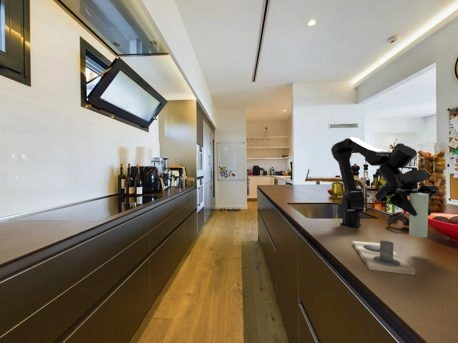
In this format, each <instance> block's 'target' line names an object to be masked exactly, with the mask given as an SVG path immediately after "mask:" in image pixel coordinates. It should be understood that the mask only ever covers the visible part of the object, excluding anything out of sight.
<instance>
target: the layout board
mask: <svg viewBox="0 0 458 343" xmlns="http://www.w3.org/2000/svg"><path fill="white" fill-rule="evenodd" d="M351 243H352V245H353V247H354V250H356V252H357V253H358V255H359V256H360V258H361V259H362V261H364V263H365V264H366V266H367V267H368V269H369V270H371V271H378V272H390V273H395V274H397V273H398V274H404V275H405V274H406V275H414V276H415V275H416V269H415V268H413V266H411V265H410V264H409V263H408V262H407V261H406V260H404V259H403V257H401V256H400V255H399V254H398V253H397V252H395V251H394V243H393V242H392V241H389V240H380V241H379V242H372V241H371V242H370V241H369V242H368V241H360V240H359V241H358V240H352V242H351Z"/></svg>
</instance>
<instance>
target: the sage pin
mask: <svg viewBox="0 0 458 343" xmlns="http://www.w3.org/2000/svg"><path fill="white" fill-rule="evenodd" d="M428 195H429V194H423V193H410V196H409V202H410V203H411V205H412V206H413V208H414V209H415V211H416V213H417V215H416V216H413V215H411V214H409V215H410V219H409V226H408V227H409V228H408V233H409V236H412V237H417V238H428V228H429V227H428V223H429V222H428V221H429V219H428V218H429V216H428V204H429V200H428Z"/></svg>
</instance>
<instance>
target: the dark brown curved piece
mask: <svg viewBox="0 0 458 343" xmlns="http://www.w3.org/2000/svg"><path fill="white" fill-rule="evenodd" d="M409 219H410V214H409V213H408V212H406V213H405V212H403V211H397V212H394V213H392V214H390V215H388V216H387V217H386V218H385V220H386V221H387V222H386V225H388V227H391V225H393V224H394V225H398V224H399V223H398V221H400V222H402V223H403V226H406V227H409Z"/></svg>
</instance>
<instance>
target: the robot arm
mask: <svg viewBox="0 0 458 343" xmlns="http://www.w3.org/2000/svg"><path fill="white" fill-rule="evenodd" d="M330 151H331V154H332V157H333V158H334V160H335V161H336V162H337V163H338V167H339V172H340V176H341V182H342V184H343V187H344V188H343V189H344V192H343V194H342V201H341V202H340V204H339V205H338V211H340V212H342V213H341V215H342V216H341V217H342V218H341V219H342V220H341V221H342V222H340V223H339V224H340V225H342V226H346V227H350V228H356V227H357V228H358V227H360V226H362V224H361V216H360V213H363V212H364V209H365V206H366V199H365V195H364V192H363V191H362V190H361V191H359V190H358V188H357V185H356V180H355V175H354V173H353V168H352V165H351V161H350V160H351V158H352V154H353V152H354V151H355V152H357V153H358V154H360V155H361V156H362V157H364V160H365V162H366V163H368V164H369V166H371V167H378V168H376V171H375V173H374V176H375V177H382V178H383V180H384V182H386V183H385V184H384V185H382V186H381V187H380V189H378V191H377V192H375V195H374V198H375V199H376V200H377V202H378V203H386V202H387V204H392V205H393V206H395V207H397V208H399V209H401V210H403V211H404V212H406V213H407V214H409V215H410V214H411V215H413V216H416V215H417V213H416V211H415V209H414V208H413V206H412V205H411V203H410V199H408V197H410V193H423V194H429V195H428V201H429V200H430V199H431V198H433V197H434V196H435V195H437V194H438V193H439V192H440V189H439V188H438V187H437V186H436V185H433V184H432V185H431V184H424V185H421V186H420V187H419V188H418V189H417V187H418V186H419V183H420V182H423V181H427V180H428V179H429V178H430V177H431V176H430V173H429V171H427V170H426V169H425V168H420V169H410V170H409V171H406V172H404V173H403V171H401V169H405V168H406V167H407V166H408V165H409V164H410V163H411V162H412V161H413V159H415V158H416V156H417V155H418V151H416V149H414V148H412V147H410V146H409V145H405V143H402V142H401V143H396V145H395V146H394V148H393V149H392V151H389V150H385V149H380V148H375V147H373V146H372V145H369V144H367V143H365V142H364V141H362V140H361V139H359V138H358V137H347V138H345V139H344V140H342V141H338V142H336V143H334V144H333V145H332V146H331V148H330ZM387 197H389V199H390V200H388V198H387ZM387 200H388V201H387ZM430 215H432V211H431V208H430V205H429V203H428V217H429V216H430Z"/></svg>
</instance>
